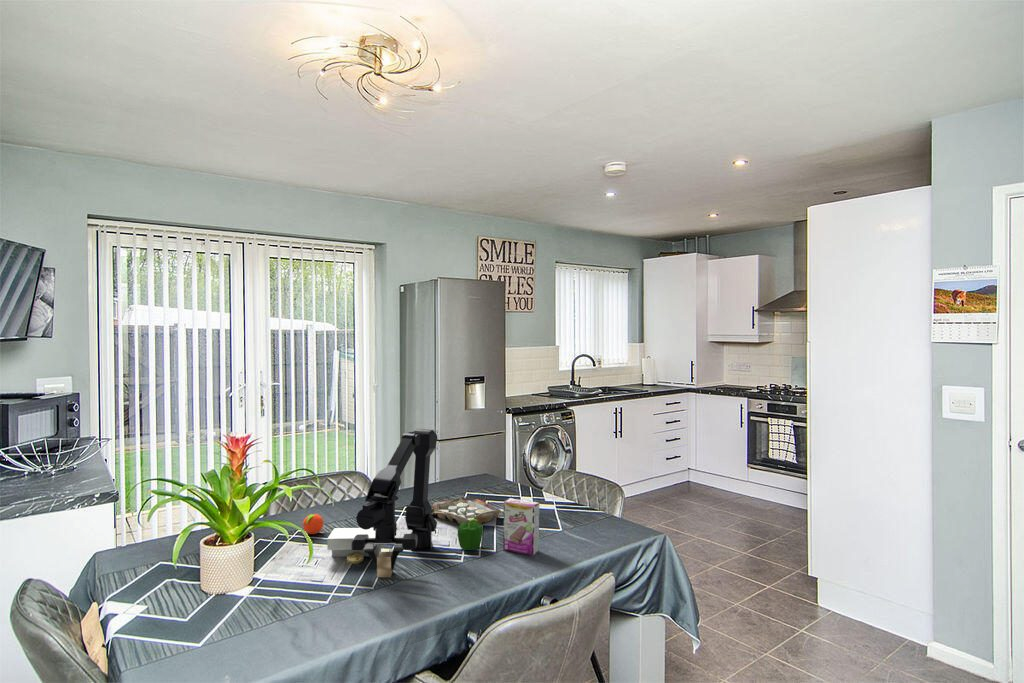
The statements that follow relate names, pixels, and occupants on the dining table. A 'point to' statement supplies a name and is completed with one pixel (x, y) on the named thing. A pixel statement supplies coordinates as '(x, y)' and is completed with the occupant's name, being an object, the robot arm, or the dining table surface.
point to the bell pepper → (470, 535)
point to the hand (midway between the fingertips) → (385, 570)
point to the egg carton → (461, 505)
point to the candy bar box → (521, 526)
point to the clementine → (313, 523)
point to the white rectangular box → (347, 541)
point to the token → (355, 557)
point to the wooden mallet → (384, 564)
